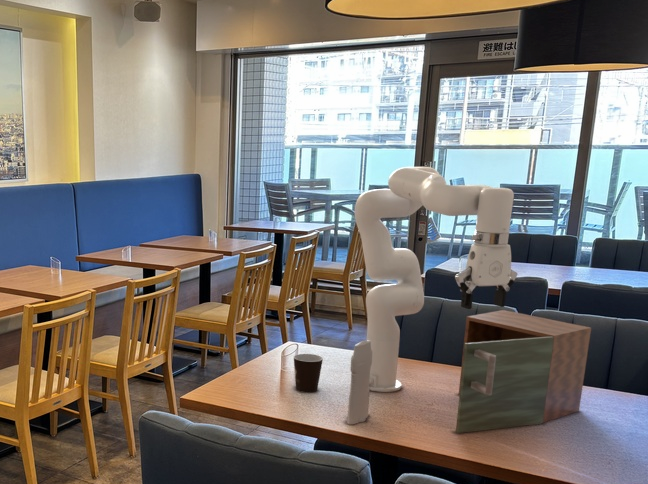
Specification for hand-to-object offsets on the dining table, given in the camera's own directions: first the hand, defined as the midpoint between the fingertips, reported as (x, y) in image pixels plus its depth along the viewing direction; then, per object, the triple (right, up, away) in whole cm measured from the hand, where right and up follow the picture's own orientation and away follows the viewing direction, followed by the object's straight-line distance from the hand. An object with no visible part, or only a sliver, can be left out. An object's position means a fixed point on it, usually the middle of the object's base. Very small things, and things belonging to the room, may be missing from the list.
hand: (482, 306), depth 181 cm
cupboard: (+22, -27, +26) cm, 44 cm away
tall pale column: (-27, -30, +14) cm, 43 cm away
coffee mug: (-35, -24, +40) cm, 58 cm away
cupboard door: (+9, -32, +5) cm, 34 cm away
